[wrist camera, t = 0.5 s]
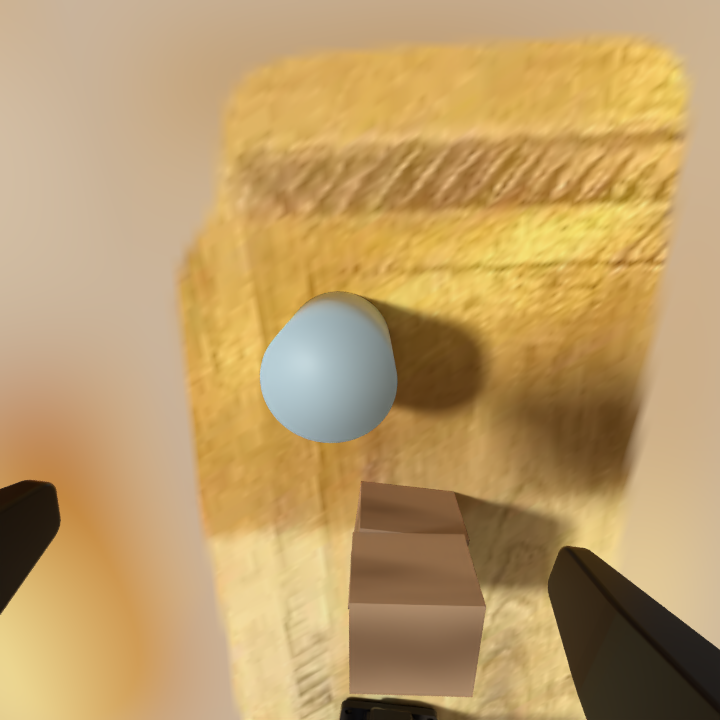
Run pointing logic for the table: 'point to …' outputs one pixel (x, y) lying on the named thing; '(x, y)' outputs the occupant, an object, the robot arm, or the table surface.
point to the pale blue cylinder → (331, 369)
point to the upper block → (413, 615)
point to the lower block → (407, 511)
